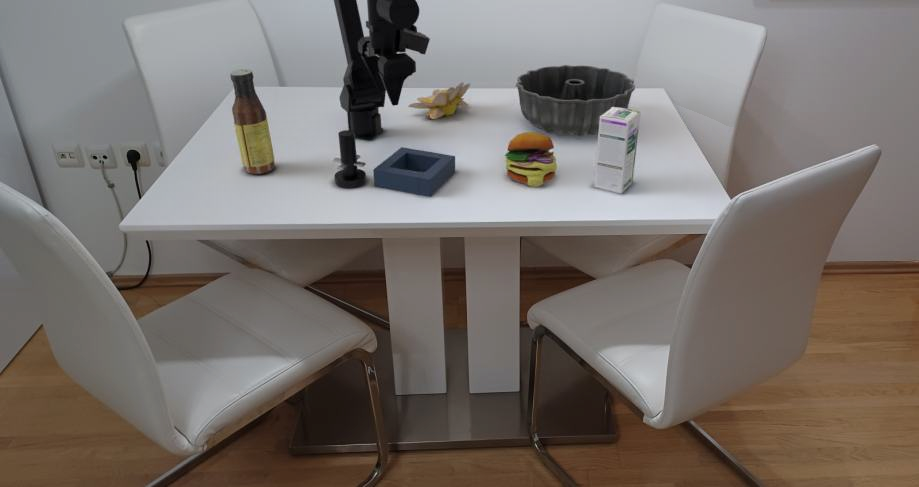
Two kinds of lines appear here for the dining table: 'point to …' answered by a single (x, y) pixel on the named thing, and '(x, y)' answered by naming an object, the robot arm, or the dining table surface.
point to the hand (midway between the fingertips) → (388, 97)
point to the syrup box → (616, 149)
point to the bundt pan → (571, 97)
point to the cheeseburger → (531, 159)
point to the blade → (349, 162)
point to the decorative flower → (443, 101)
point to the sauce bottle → (251, 125)
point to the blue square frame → (404, 180)
